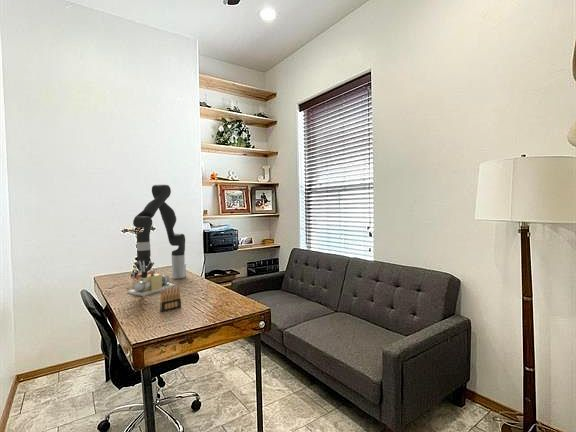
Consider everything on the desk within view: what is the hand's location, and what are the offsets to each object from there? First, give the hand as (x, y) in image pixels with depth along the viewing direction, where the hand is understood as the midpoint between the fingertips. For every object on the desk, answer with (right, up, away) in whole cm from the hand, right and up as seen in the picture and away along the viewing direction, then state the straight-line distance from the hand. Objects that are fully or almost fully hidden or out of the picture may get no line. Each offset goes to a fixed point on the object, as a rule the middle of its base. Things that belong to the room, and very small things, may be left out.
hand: (144, 277), depth 194 cm
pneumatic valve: (-13, -10, +26) cm, 31 cm away
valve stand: (-1, -10, +13) cm, 17 cm away
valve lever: (-2, 0, +6) cm, 7 cm away
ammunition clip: (+26, -12, -27) cm, 39 cm away
